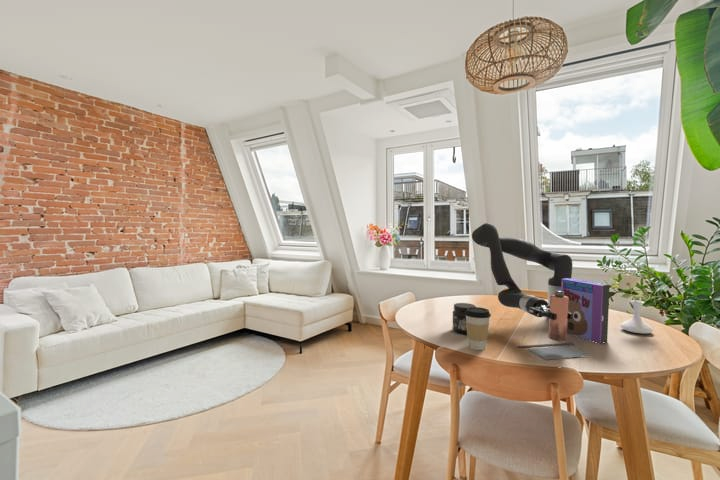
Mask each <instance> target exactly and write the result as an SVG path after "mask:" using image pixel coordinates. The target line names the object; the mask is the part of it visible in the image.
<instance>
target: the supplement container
mask: <svg viewBox="0 0 720 480" xmlns="http://www.w3.org/2000/svg"><path fill="white" fill-rule="evenodd" d="M469 307H477V306H476V305H475V304H472V303H469V302H457V303H456V302H455V304H453V311H452V331H453V332H454V333H455V334H458V335H464V336H465V335H466V336H467V328H466V315H465V314H464V313H465V311H466V309H467V308H469Z"/></svg>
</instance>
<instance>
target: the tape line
mask: <svg viewBox="0 0 720 480" xmlns="http://www.w3.org/2000/svg"><path fill="white" fill-rule="evenodd" d="M570 344H571V345H574V343H573V342H557V343H543V344H526V345H516V347H517V348H519V349H524V348H526V349H528V348H543V347H558V346H570Z"/></svg>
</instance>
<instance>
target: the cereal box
mask: <svg viewBox="0 0 720 480" xmlns="http://www.w3.org/2000/svg"><path fill="white" fill-rule="evenodd" d="M561 291H564V296H567V297H569V302H568V312H569V313H572V319H568V322H567V335H570V336H572V337H573V336H574V337H576V336H577V338H579V337H580V338H581V339H582V338H584V339H583V340H586V339H587V340H586V341H589V340H591V341H590V342H592V341H594V342H593V343H595V342H597V343H596V344H598V343H602V344H604V343H603V342H606V343H608V331H609V305H610V304H609V302H610V284H605V283H599V282H594V281H587V280H581V279H575V278H571V279H569V278H565V279H562V284H561ZM580 338H579V339H580Z"/></svg>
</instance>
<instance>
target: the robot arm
mask: <svg viewBox="0 0 720 480" xmlns="http://www.w3.org/2000/svg"><path fill="white" fill-rule="evenodd" d="M471 238H472V240H473V242H474V243H475V244H476V245H478V246H481V247H485V248H489V252H490V269H491V272H492V274H493V275H492V276H493V277H494V280H495V283H496V284H497V285H498V286H505V287H506V288H507V289H504V290H500V292H499V293H498V294H497V300H498V302H499V303H500V304H501V305H502V306H503V307H507V308H514V309H516V308H517V309H519V310H522V311H524V312H525V313H527V314H530V315H532V316H535V317H536V318H547V319H549V318H550V319H552V320H556V314H554V313H551V312H549V311H550V295H555V291H561V284H562V279H565V278H569V279H572V276H573V272H572V271H573V260H572V256H571V257H570V255H568V254H565V253H558V252H552V251H547V250H544V249H541V248H539V247H538V246H537V245H535V244H534V243H533V242H530V241H528V240H525V239H523V238H518V237H508V236H507V237H506V236H504V237H503V236H499V232H498V229H497V227H496V226H495V225H494V224H492V223H490V222H484V223H483V224H482V225H479V226H478V227H477V228H475V230H474V231H472V232H471ZM503 253H505V254H508V255H511V256H513V257H516V258H518V259H521V260H525V261H528V262H532V263H536V264H539V265H540V266H543V267H545V268H547V269H549V271H550V270H551V271H553V276H552V277H550V278H548V281H547V282H548V283H547V284H548V285H547V301H546V300H545V299H543V298H540V297H537V296H535V295H531V294H527V293H524V292H523V291H522V290H521V289H520V287H519V285H518V284H517V283H516V282H515V280H513V278H512V276H511V273H510V271H509V268H508V267H507V264H506V260H505V257H504V254H503ZM568 319H572V313H569V312H568Z"/></svg>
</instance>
